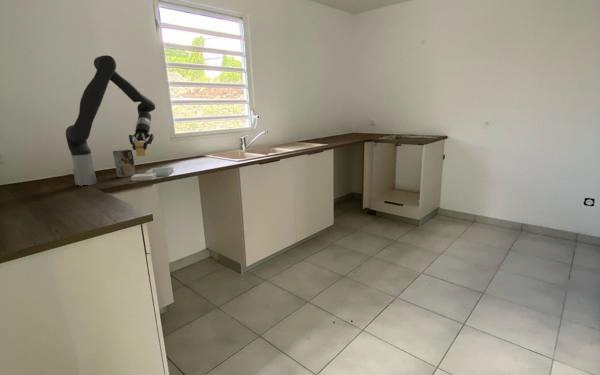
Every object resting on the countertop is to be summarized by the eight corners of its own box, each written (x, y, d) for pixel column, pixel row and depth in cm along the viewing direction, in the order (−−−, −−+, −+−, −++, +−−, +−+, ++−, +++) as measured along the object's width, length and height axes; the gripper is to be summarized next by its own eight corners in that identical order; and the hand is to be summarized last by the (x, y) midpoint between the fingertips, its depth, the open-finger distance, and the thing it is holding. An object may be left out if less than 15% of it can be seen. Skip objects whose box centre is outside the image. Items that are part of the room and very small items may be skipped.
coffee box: (131, 173, 211) (127, 149, 207) (136, 174, 207) (132, 149, 203) (116, 176, 204) (112, 151, 200) (121, 177, 200) (117, 151, 196)
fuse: (136, 156, 190) (134, 142, 188) (137, 155, 191) (135, 142, 189) (145, 155, 190) (143, 142, 188) (146, 155, 192) (144, 141, 190)
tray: (146, 177, 199) (145, 172, 198) (152, 172, 211) (152, 168, 211) (168, 175, 200) (167, 171, 200) (173, 171, 213) (173, 167, 212)
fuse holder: (131, 180, 190) (130, 176, 189) (135, 178, 196) (135, 174, 196) (152, 179, 191) (152, 175, 190) (156, 177, 198) (155, 173, 197)
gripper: (128, 123, 192) (123, 145, 184) (153, 122, 194) (150, 144, 186) (133, 131, 199) (128, 153, 190) (157, 130, 200) (154, 152, 192)
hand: (139, 149), depth 188 cm, fingers closed on fuse, 5 cm apart
